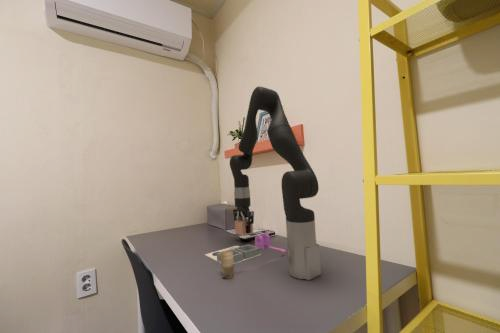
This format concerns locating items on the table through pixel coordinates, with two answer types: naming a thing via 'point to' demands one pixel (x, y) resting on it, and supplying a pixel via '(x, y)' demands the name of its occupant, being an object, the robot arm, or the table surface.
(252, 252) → the board
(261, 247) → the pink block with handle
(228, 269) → the peg
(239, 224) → the orange cube
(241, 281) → the table surface
